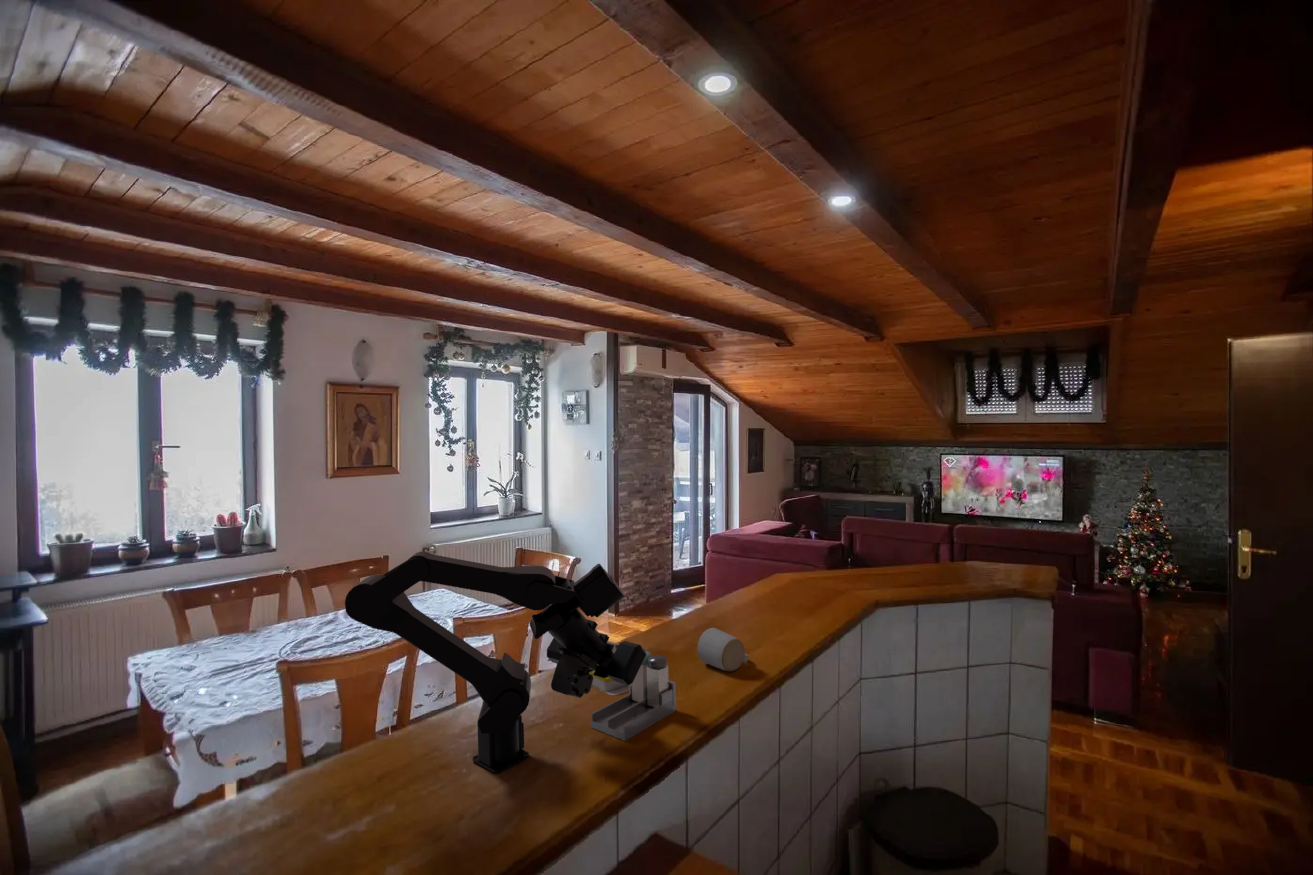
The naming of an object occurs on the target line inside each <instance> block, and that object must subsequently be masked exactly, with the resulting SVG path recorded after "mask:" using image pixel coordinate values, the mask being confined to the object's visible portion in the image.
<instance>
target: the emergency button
mask: <svg viewBox="0 0 1313 875" xmlns="http://www.w3.org/2000/svg"><path fill="white" fill-rule="evenodd" d="M594 672H595V671H592V672H589V674H591V675H593V674H594ZM591 687H594V688H596V689H598V690H599V691H601V692H603V693H605V694H607V695H609V696H613V697H614V696H619V695H623V694H625V693H627V692H629V685H625V684H622V683H619V682H616V681H614V680H613V679H611V678H609V677H607V678H601V677H598V676H595V675H593V682H592V685H591Z"/></svg>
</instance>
